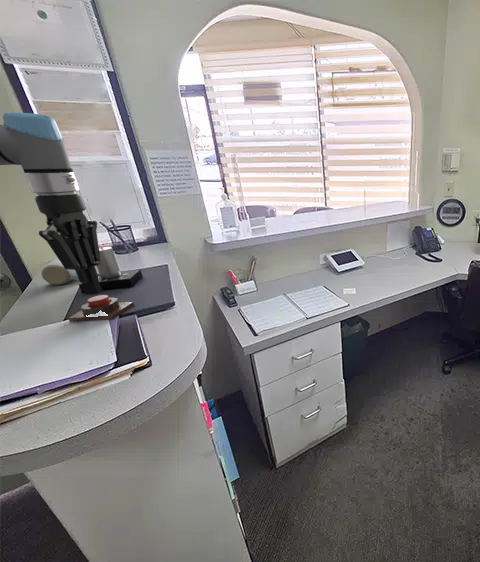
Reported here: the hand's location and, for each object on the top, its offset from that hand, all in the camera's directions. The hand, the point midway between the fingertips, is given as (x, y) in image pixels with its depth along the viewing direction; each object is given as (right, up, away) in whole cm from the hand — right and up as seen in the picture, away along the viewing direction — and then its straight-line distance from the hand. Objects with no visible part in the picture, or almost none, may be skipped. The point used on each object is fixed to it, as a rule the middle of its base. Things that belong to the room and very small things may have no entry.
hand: (94, 292), depth 76 cm
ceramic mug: (-34, +3, +28) cm, 44 cm away
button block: (0, -6, +2) cm, 7 cm away
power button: (0, -3, +1) cm, 3 cm away
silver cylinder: (-15, +5, +23) cm, 28 cm away
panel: (-15, +2, +24) cm, 28 cm away
